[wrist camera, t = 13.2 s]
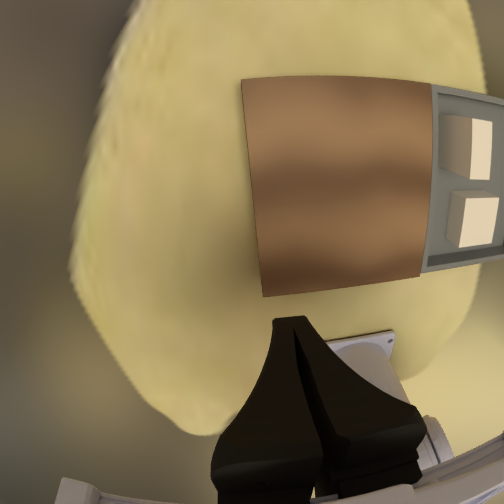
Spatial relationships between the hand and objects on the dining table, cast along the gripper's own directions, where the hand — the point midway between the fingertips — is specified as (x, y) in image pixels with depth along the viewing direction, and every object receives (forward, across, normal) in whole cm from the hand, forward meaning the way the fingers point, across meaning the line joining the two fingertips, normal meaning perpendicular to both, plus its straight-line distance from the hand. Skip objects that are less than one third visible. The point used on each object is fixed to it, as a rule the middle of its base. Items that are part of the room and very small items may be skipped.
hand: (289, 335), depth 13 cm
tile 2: (+8, -17, -1) cm, 19 cm away
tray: (+10, -17, -4) cm, 21 cm away
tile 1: (+8, -13, -7) cm, 17 cm away
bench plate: (+10, -5, -4) cm, 12 cm away
